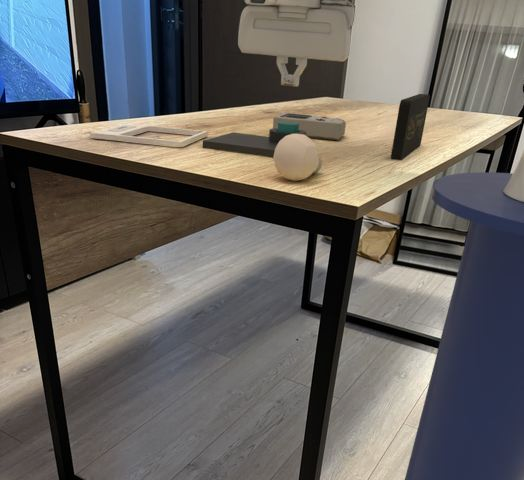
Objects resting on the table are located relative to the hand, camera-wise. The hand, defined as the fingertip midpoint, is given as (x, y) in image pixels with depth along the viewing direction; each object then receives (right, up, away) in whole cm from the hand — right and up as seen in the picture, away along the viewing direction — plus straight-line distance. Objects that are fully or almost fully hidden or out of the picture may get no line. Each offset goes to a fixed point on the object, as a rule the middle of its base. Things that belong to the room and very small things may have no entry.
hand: (289, 85), depth 98 cm
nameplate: (+24, -9, +8) cm, 27 cm away
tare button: (0, -7, +4) cm, 8 cm away
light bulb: (+1, -23, -17) cm, 28 cm away
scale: (-7, -10, +3) cm, 13 cm away
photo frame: (-27, -7, +6) cm, 28 cm away
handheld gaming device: (+5, -1, +20) cm, 21 cm away
